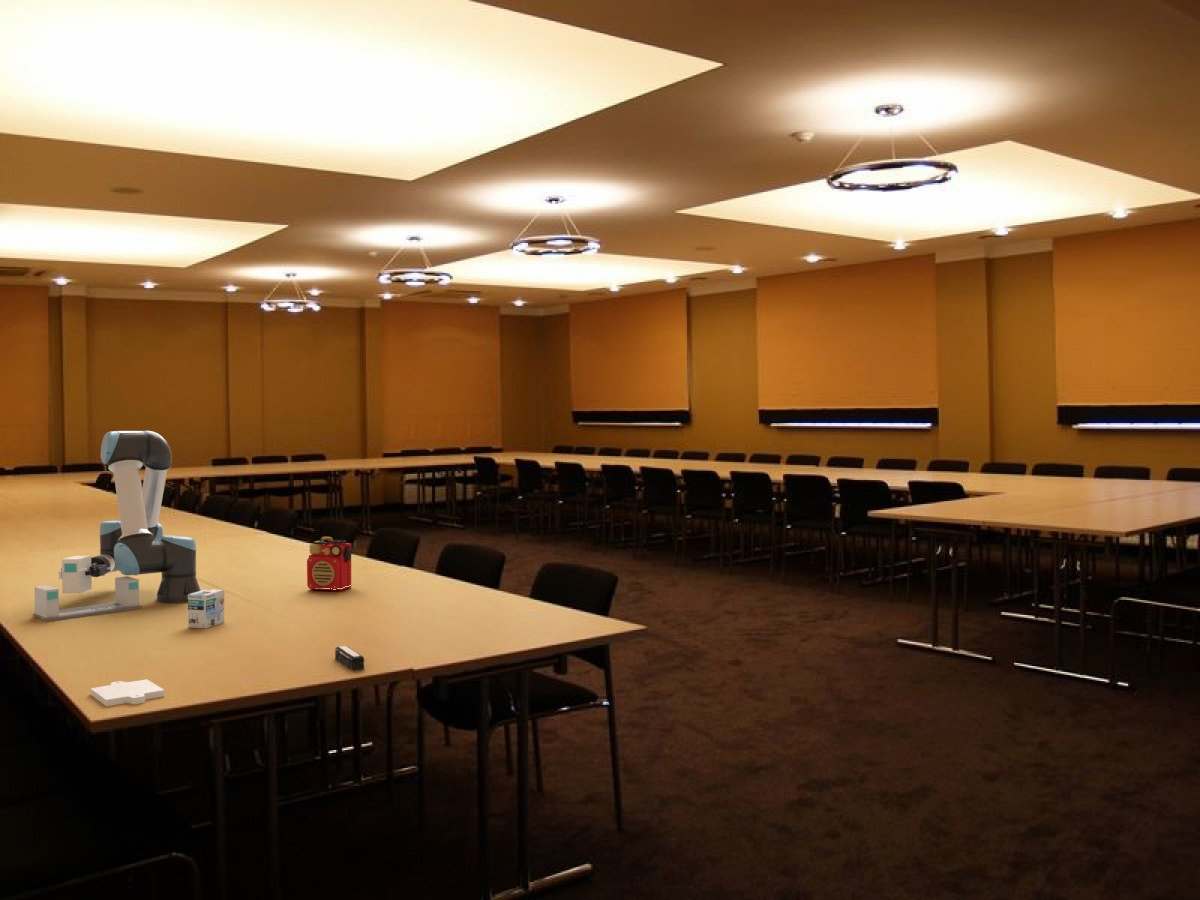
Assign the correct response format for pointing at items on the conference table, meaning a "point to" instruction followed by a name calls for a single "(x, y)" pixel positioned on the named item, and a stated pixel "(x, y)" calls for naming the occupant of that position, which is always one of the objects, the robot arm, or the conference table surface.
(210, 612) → the light bulb box
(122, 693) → the mounting plate
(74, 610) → the rail board
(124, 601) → the block
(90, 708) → the conference table surface
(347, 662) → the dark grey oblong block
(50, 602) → the block
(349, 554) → the radio
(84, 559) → the block
